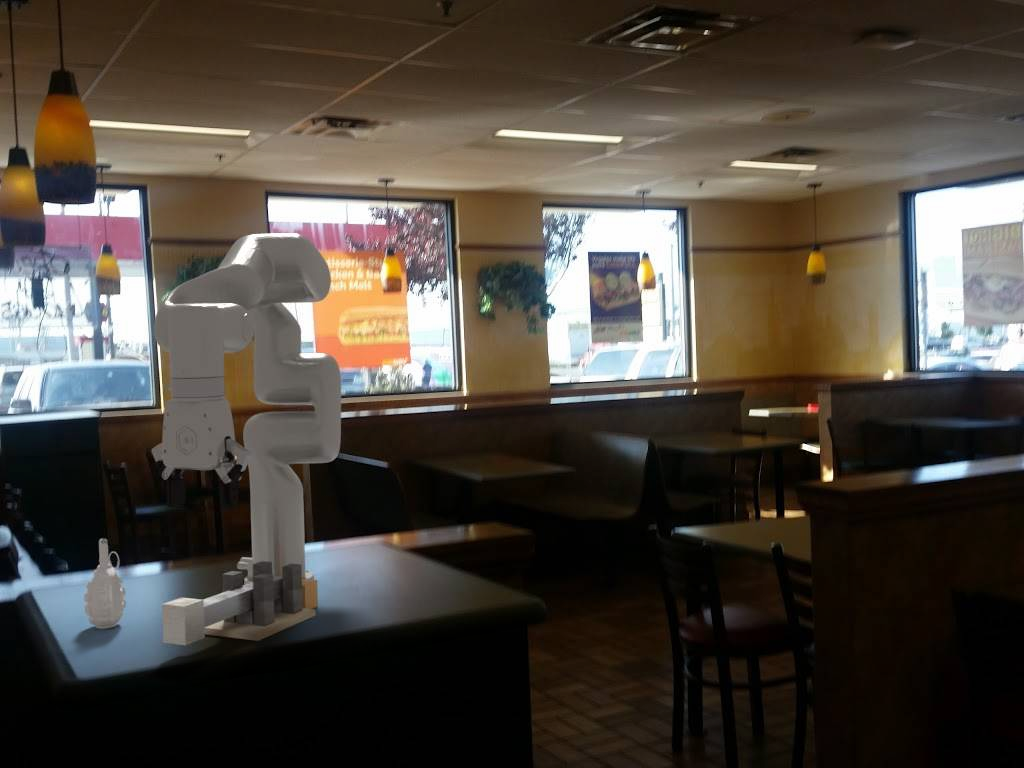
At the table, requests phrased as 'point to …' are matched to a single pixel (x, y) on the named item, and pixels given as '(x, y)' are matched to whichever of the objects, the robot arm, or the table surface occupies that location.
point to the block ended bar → (207, 612)
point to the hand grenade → (105, 592)
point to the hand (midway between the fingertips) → (202, 507)
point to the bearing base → (258, 630)
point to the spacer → (309, 593)
